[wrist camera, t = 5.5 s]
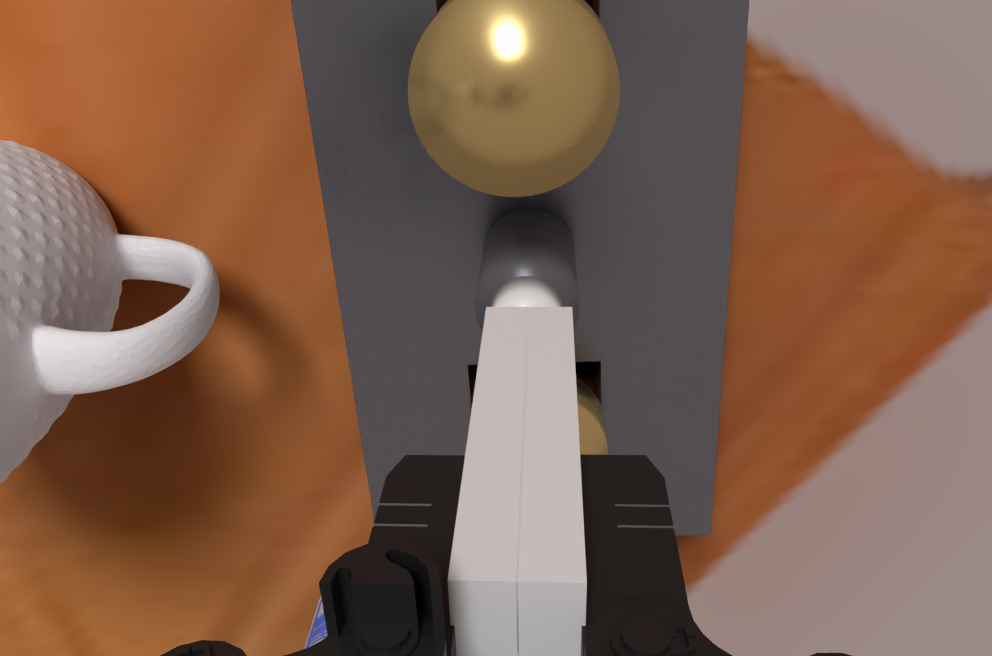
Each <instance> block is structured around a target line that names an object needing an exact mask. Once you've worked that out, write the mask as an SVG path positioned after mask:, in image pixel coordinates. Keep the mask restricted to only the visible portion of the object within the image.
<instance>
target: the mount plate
mask: <svg viewBox="0 0 992 656" xmlns="http://www.w3.org/2000/svg"><path fill="white" fill-rule="evenodd" d="M447 1H448V0H291V5H292V11H293V18H294V24H295V30H296V36H297V42H298V49H299V55H300V61H301V67H302V74H303V80H304V86H305V92H306V98H307V105H308V111H309V117H310V123H311V130H312V136H313V142H314V148H315V154H316V161H317V167H318V173H319V179H320V185H321V192H322V198H323V204H324V210H325V217H326V223H327V229H328V235H329V241H330V248H331V254H332V260H333V266H334V272H335V279H336V285H337V291H338V297H339V304H340V310H341V316H342V322H343V328H344V335H345V341H346V347H347V353H348V360H349V366H350V372H351V378H352V384H353V391H354V397H355V403H356V409H357V415H358V422H359V428H360V434H361V440H362V447H363V453H364V459H365V465H366V471H367V478H368V484H369V490H370V496H371V502H372V509H373V515H374V520H375V516H376V512H377V509H378V506H379V504H380V503H379V501H380V497H381V494H382V490H383V486H384V482H385V479H386V476H387V475H388V474H389V473H390V472H391V470H392V469H393V468H394V467H395V466H396V465H397V464H398V463H399V462H400V461H401V459H402V458H403V457H404V456H405V455H464V453H465V445H466V437H467V430H468V422H469V415H470V409H471V406H472V403H473V396H474V389H475V382H476V375H477V368H478V361H479V354H480V347H481V340H482V333H483V331H482V330H481V328H480V326H479V324H478V322H477V319H476V314H475V300H476V293H477V286H478V280H479V273H480V267H481V260H482V254H483V247H484V242H485V238H486V236H487V234H488V232H489V230H490V229H491V227H492V226H493V225H494V224H495V223H496V222H497V221H498V220H499V219H500V218H502V217H503V216H505V215H507V214H509V213H511V212H514V211H517V210H523V209H535V210H540V211H544V212H547V213H549V214H551V215H553V216H555V217H556V218H557V219H559V220H560V221H561V222H562V223H563V224H564V225H565V226H566V227H567V229H568V230H569V232H570V234H571V236H572V239H573V243H574V250H575V261H576V273H577V285H578V296H579V316H578V320H577V323H576V325H575V327H574V329H573V330H574V349H575V362H589V361H595V371H596V396H597V398H598V399H599V401H600V404H601V406H602V410H603V414H604V422H605V431H606V440H607V448H608V455H646V456H647V457H648V458H649V460H650V461H651V462H652V463H653V464H654V466H655V467H656V468H657V469H658V470H659V472H660V473H661V474H662V475H663V476H664V478H665V484H666V489H667V494H668V499H669V508H670V510H671V515H672V521H673V529H674V531H675V536H679V535H711V522H712V508H713V494H714V480H715V467H716V453H717V439H718V425H719V411H720V398H721V384H722V370H723V356H724V342H725V328H726V315H727V301H728V287H729V273H730V259H731V246H732V232H733V218H734V204H735V190H736V176H737V163H738V149H739V135H740V121H741V107H742V94H743V80H744V66H745V52H746V38H747V24H748V11H749V0H593V11H594V12H595V14H596V15H597V17H598V18H599V20H600V22H601V24H602V26H603V28H604V30H605V32H606V34H607V37H608V40H609V42H610V45H611V47H612V50H613V53H614V56H615V59H616V62H617V67H618V72H619V80H620V99H619V108H618V112H617V117H616V121H615V124H614V127H613V129H612V132H611V134H610V136H609V138H608V140H607V142H606V144H605V146H604V147H603V149H602V150H601V152H600V153H599V155H598V156H597V157H596V158H595V159H594V161H593V162H592V163H591V164H590V165H589V166H588V167H587V168H586V169H585V170H584V171H583V172H581V173H580V174H579V175H578V176H576V177H575V178H573V179H572V180H570V181H569V182H567V183H565V184H563V185H562V186H560V187H558V188H555V189H553V190H550V191H547V192H545V193H541V194H536V195H532V196H523V197H503V196H497V195H491V194H487V193H484V192H480V191H477V190H475V189H473V188H470V187H468V186H466V185H464V184H463V183H461V182H459V181H457V180H456V179H454V178H453V177H452V176H450V175H449V174H448V173H446V172H445V171H444V170H443V169H442V168H441V167H440V166H439V165H438V164H437V163H436V162H435V161H434V160H433V159H432V157H431V156H430V155H429V154H428V152H427V151H426V149H425V148H424V146H423V144H422V143H421V141H420V139H419V137H418V135H417V132H416V130H415V128H414V125H413V121H412V118H411V115H410V109H409V103H408V76H409V70H410V65H411V61H412V57H413V55H414V52H415V49H416V46H417V44H418V42H419V41H420V39H421V37H422V35H423V33H424V32H425V30H426V29H427V27H428V26H429V24H430V23H431V22H432V20H433V19H434V17H435V16H436V15H437V13H438V12H439V10H440V9H441V8H442V6H443V5H444V4H445V3H446V2H447Z"/></svg>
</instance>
